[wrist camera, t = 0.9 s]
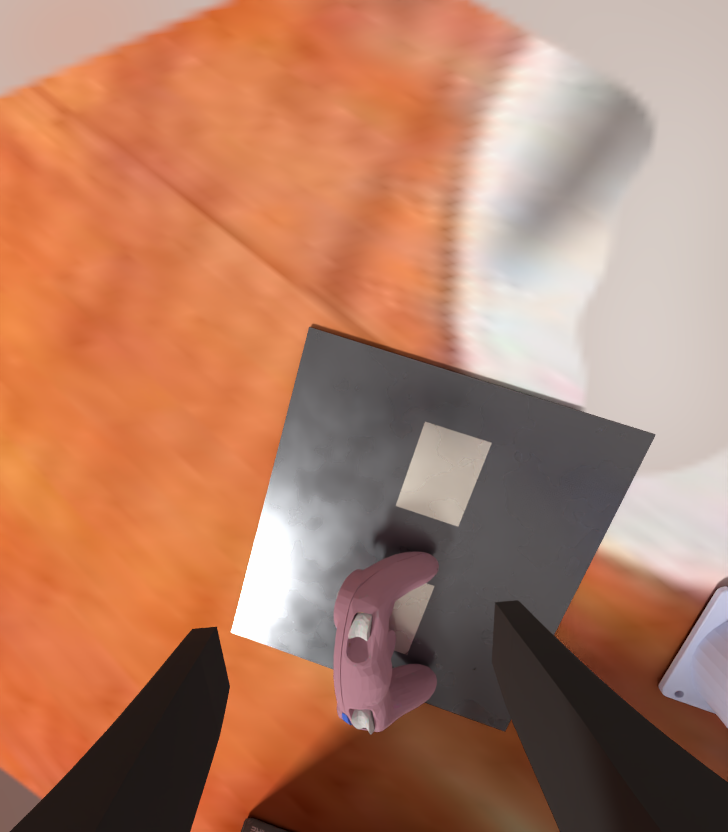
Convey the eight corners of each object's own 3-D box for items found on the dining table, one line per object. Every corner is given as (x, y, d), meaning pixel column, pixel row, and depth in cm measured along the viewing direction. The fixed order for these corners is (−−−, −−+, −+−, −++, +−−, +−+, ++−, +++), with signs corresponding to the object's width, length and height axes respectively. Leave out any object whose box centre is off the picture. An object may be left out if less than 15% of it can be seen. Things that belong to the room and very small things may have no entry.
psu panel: (653, 433, 21) (655, 434, 20) (504, 728, 26) (504, 732, 26) (310, 327, 22) (309, 327, 22) (232, 630, 27) (231, 632, 27)
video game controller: (380, 530, 25) (310, 588, 20) (444, 549, 23) (386, 622, 17) (382, 655, 27) (319, 740, 22) (442, 685, 25) (388, 791, 19)
